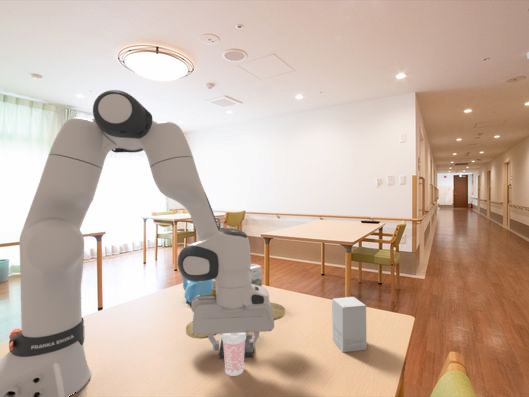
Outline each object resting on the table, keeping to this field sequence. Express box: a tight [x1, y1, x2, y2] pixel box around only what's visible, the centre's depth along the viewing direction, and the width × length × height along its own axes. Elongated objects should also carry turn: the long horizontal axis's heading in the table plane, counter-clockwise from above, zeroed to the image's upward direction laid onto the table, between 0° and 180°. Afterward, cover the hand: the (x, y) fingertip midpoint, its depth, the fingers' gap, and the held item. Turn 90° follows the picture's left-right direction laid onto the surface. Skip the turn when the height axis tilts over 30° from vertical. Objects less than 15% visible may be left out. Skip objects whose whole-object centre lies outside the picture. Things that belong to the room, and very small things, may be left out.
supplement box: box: [331, 296, 367, 353], centre depth 81 cm, size 7×7×13 cm
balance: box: [185, 302, 286, 360], centre depth 79 cm, size 28×10×11 cm, turn 95°
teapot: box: [180, 273, 212, 303], centre depth 118 cm, size 15×15×10 cm
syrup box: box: [249, 263, 263, 287], centre depth 115 cm, size 6×6×14 cm
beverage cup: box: [221, 332, 247, 377], centre depth 70 cm, size 6×6×14 cm
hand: (234, 348), depth 70 cm, fingers open, 8 cm apart
